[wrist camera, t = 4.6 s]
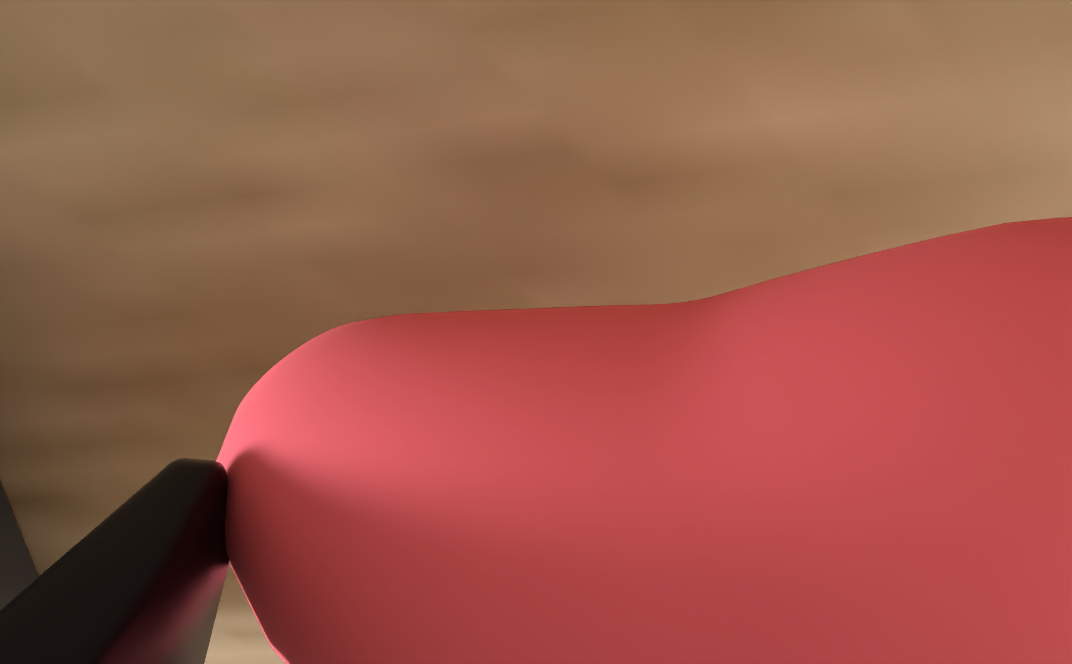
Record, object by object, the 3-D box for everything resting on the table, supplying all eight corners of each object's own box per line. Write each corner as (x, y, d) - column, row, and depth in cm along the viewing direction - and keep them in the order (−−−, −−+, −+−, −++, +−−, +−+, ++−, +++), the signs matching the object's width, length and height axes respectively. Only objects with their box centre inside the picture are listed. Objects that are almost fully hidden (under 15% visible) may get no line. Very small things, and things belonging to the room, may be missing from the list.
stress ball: (924, 512, 14) (1419, 839, 8) (290, 693, 12) (312, 1308, 6) (915, 149, 12) (1522, 216, 6) (186, 288, 10) (74, 572, 4)
